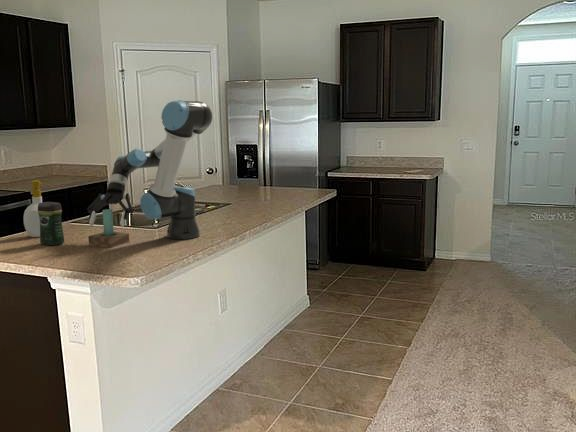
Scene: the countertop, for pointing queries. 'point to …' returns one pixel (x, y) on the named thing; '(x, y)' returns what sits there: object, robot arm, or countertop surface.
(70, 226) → the countertop surface
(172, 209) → the robot arm
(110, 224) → the dowel
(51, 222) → the coffee jar
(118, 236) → the bore block
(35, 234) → the soap bottle
